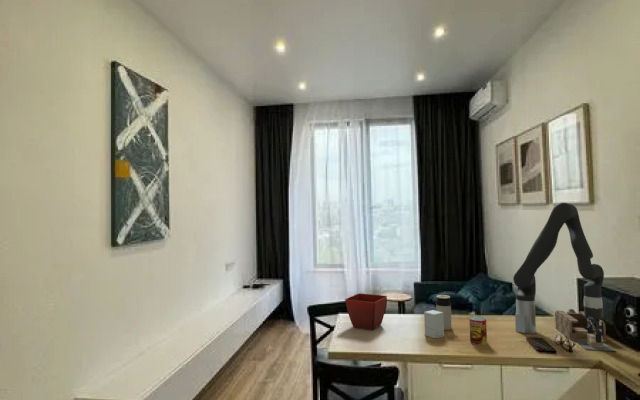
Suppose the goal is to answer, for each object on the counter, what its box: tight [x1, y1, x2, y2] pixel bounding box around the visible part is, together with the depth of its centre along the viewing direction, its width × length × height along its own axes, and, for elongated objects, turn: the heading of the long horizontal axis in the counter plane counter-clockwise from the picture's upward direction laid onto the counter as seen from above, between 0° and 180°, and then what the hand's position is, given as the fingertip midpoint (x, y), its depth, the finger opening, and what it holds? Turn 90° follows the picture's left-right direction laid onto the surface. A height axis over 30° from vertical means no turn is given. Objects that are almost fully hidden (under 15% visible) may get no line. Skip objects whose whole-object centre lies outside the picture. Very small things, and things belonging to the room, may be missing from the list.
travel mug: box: [435, 294, 452, 331], centre depth 220 cm, size 8×8×18 cm
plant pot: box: [344, 293, 388, 331], centre depth 226 cm, size 19×19×17 cm
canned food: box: [468, 315, 488, 346], centre depth 195 cm, size 8×8×12 cm
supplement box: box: [423, 309, 445, 339], centre depth 207 cm, size 7×7×13 cm
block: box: [587, 334, 604, 347], centre depth 186 cm, size 4×5×5 cm
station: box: [554, 310, 616, 353], centre depth 197 cm, size 34×16×10 cm, turn 166°
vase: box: [566, 308, 577, 313], centre depth 222 cm, size 7×7×9 cm
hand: (594, 339), depth 186 cm, fingers open, 8 cm apart
